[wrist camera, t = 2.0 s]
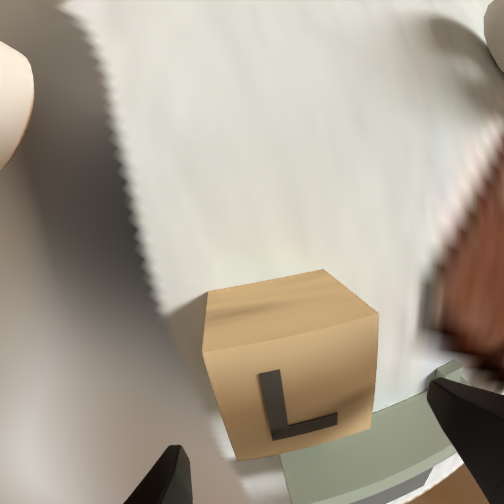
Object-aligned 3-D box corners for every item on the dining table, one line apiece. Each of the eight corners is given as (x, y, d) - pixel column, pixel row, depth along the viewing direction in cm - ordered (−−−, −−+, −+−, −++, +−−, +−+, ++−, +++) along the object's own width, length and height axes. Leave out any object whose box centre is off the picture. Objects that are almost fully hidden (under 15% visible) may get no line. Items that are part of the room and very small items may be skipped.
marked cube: (329, 363, 16) (370, 430, 10) (231, 385, 16) (238, 464, 10) (322, 268, 15) (380, 314, 9) (208, 290, 15) (201, 354, 9)
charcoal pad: (422, 483, 23) (423, 485, 22) (318, 523, 22) (319, 526, 21) (451, 415, 20) (454, 418, 19) (319, 471, 19) (320, 475, 18)
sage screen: (448, 406, 19) (483, 443, 13) (281, 468, 18) (296, 527, 12) (462, 355, 18) (508, 390, 12) (273, 423, 17) (290, 494, 11)
